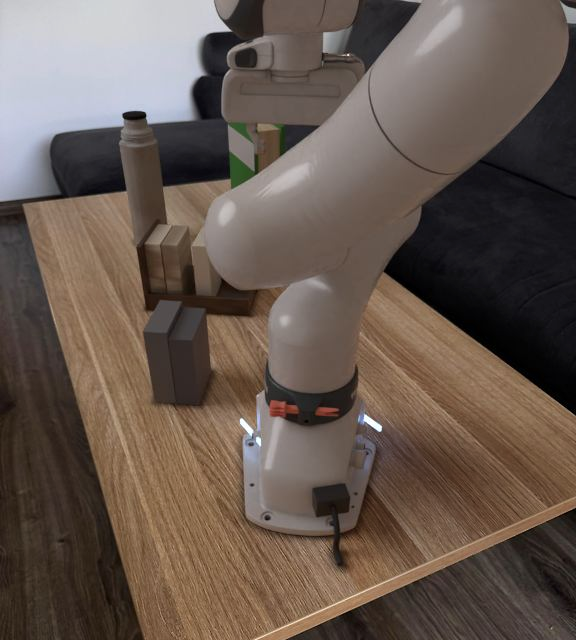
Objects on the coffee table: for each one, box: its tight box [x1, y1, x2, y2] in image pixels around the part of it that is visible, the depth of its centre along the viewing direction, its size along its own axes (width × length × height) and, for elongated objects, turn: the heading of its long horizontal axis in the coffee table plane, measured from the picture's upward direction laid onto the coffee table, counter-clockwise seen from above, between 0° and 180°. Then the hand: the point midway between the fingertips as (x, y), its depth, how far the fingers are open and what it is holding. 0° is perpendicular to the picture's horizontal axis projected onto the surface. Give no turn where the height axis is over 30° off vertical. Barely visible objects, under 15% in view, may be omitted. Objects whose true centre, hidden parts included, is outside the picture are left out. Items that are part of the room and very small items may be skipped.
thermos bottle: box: [118, 110, 169, 246], centre depth 130 cm, size 8×8×28 cm
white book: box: [191, 225, 222, 296], centre depth 114 cm, size 3×9×12 cm, turn 174°
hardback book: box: [227, 122, 286, 190], centre depth 142 cm, size 18×7×24 cm, turn 23°
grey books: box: [142, 300, 212, 406], centre depth 91 cm, size 7×9×13 cm
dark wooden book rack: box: [135, 219, 258, 317], centre depth 114 cm, size 20×13×13 cm, turn 84°
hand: (290, 154), depth 91 cm, fingers open, 8 cm apart
